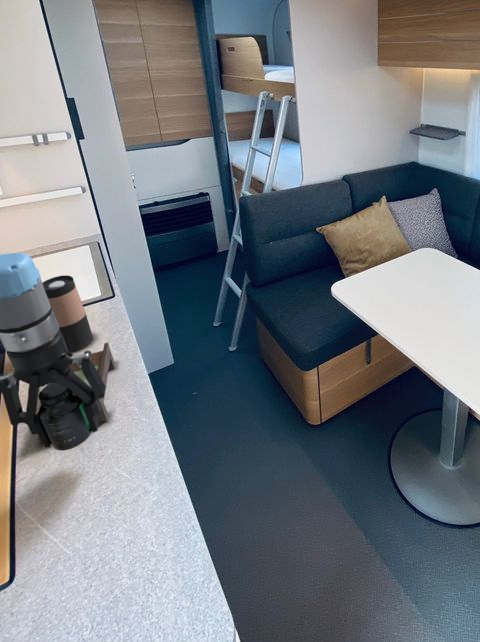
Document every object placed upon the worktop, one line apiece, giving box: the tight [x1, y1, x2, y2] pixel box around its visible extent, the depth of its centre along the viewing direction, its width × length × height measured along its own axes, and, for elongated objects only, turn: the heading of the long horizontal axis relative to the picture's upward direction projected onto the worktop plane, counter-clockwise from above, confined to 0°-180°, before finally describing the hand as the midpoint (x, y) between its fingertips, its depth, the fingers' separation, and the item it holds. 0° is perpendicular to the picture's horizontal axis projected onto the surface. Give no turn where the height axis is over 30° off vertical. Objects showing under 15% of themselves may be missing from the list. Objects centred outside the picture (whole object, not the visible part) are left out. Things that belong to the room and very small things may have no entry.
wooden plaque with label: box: [36, 342, 116, 445], centre depth 95 cm, size 12×20×7 cm, turn 26°
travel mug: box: [42, 274, 94, 353], centre depth 111 cm, size 8×8×20 cm
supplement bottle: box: [37, 382, 93, 452], centre depth 77 cm, size 7×7×12 cm
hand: (73, 433), depth 79 cm, fingers closed on supplement bottle, 7 cm apart
